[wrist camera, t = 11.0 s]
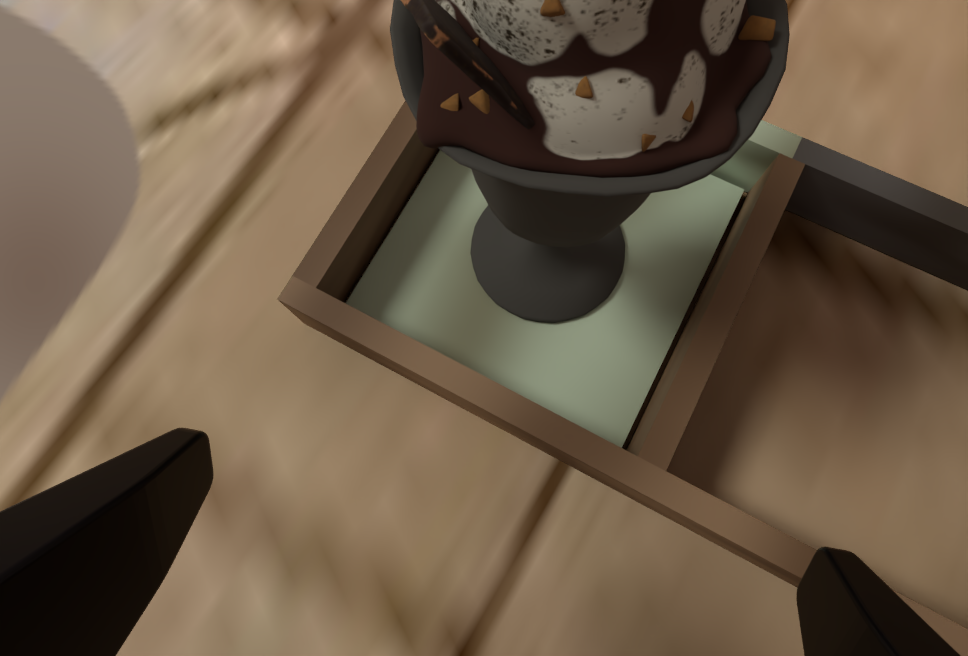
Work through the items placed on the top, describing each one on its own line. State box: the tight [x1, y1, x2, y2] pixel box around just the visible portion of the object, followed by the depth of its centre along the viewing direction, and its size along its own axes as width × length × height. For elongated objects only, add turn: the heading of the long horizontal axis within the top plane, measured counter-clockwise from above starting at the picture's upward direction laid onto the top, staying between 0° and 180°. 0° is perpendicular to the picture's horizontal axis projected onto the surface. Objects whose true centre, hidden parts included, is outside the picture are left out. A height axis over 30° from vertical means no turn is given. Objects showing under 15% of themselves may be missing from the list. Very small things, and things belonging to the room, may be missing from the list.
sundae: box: [390, 0, 789, 323], centre depth 13 cm, size 7×7×15 cm
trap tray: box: [278, 101, 968, 656], centre depth 18 cm, size 33×12×2 cm, turn 62°
